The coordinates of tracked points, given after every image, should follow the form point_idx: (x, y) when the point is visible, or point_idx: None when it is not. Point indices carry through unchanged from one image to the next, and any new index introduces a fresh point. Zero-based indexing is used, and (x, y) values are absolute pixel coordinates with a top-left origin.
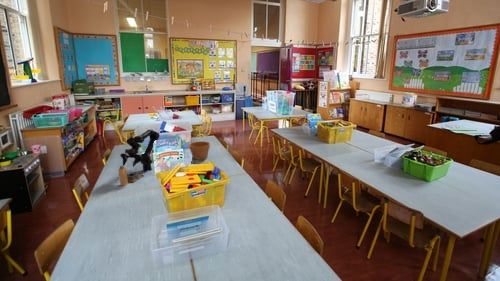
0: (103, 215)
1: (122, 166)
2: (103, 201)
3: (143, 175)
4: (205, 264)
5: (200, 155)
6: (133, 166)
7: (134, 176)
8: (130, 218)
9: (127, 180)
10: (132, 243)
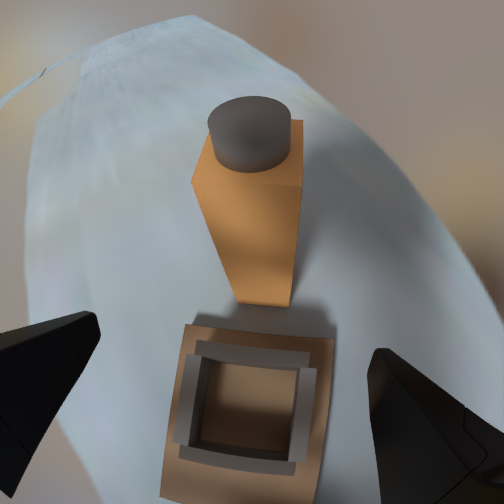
0: (195, 58)
1: (235, 120)
2: (254, 92)
3: (162, 490)
4: (31, 80)
5: None
6: (92, 334)
7: (185, 377)
8: (114, 75)
9: (233, 289)
10: (104, 53)
